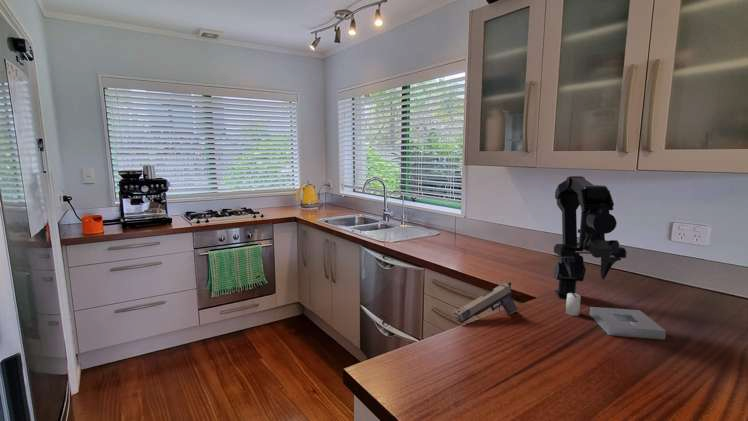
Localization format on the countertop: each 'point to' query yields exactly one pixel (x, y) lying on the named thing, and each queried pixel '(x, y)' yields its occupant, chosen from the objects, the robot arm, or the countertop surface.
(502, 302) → the toy gun
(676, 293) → the countertop surface
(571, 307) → the knob
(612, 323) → the plate
